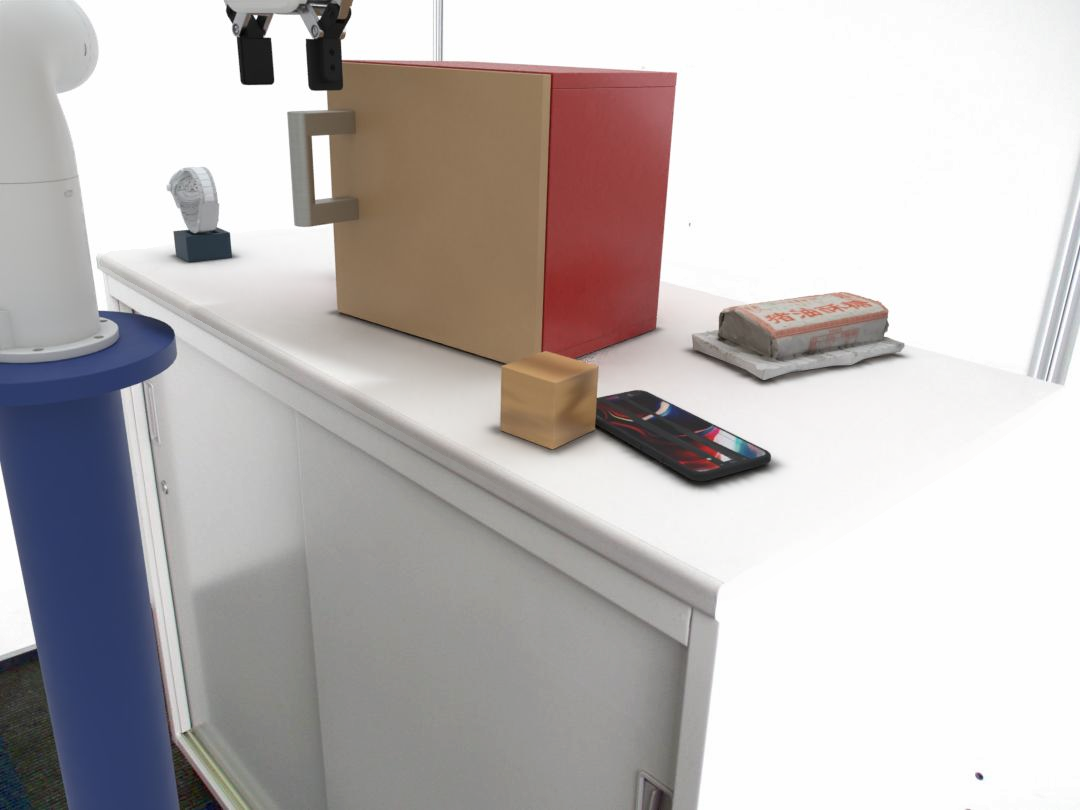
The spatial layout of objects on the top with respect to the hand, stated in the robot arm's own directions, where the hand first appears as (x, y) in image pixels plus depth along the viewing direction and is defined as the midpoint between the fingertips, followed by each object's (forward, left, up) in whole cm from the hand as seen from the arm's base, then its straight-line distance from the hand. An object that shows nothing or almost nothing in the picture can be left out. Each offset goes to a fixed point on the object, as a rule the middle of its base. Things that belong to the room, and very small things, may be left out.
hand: (290, 87), depth 81 cm
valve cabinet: (+17, -10, -22) cm, 29 cm away
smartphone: (+3, -39, -22) cm, 45 cm away
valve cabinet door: (+4, -10, -22) cm, 24 cm away
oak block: (-2, -32, -22) cm, 39 cm away
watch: (+11, +35, -22) cm, 43 cm away
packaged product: (+28, -37, -22) cm, 52 cm away
